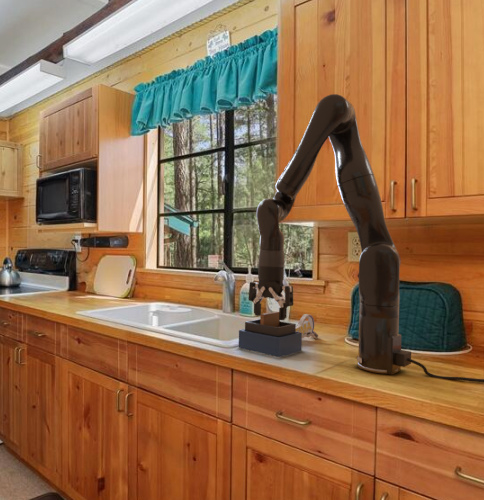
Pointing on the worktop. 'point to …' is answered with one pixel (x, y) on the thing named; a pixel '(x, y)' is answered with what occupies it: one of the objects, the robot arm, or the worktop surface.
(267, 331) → the upper tote
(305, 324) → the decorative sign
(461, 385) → the worktop surface
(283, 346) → the box
